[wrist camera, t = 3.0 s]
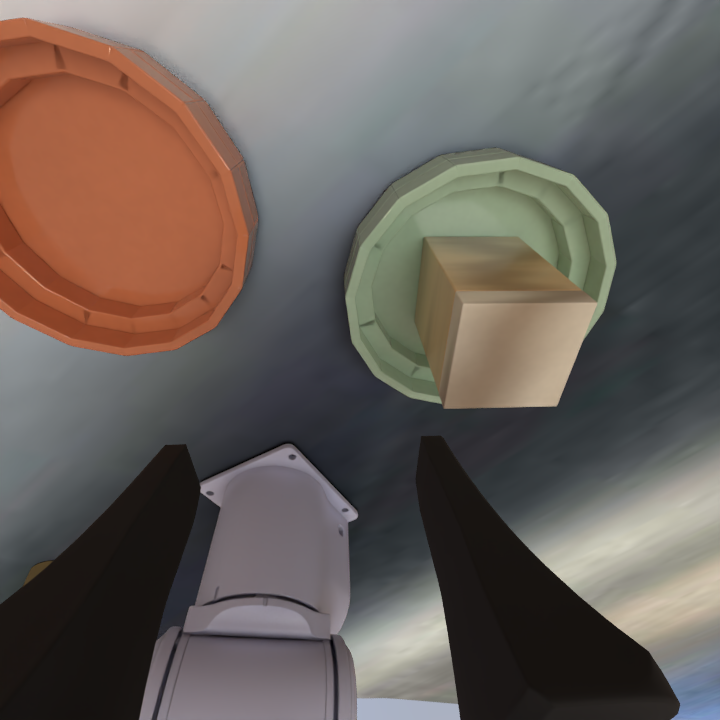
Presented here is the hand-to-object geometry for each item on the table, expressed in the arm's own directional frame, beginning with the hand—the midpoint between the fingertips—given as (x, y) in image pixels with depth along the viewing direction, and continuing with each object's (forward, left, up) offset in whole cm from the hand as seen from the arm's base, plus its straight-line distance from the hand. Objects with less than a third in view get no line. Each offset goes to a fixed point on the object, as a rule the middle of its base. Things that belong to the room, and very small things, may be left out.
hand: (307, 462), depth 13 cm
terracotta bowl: (+9, +5, -10) cm, 14 cm away
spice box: (-2, -7, -10) cm, 13 cm away
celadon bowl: (-2, -7, -10) cm, 13 cm away
